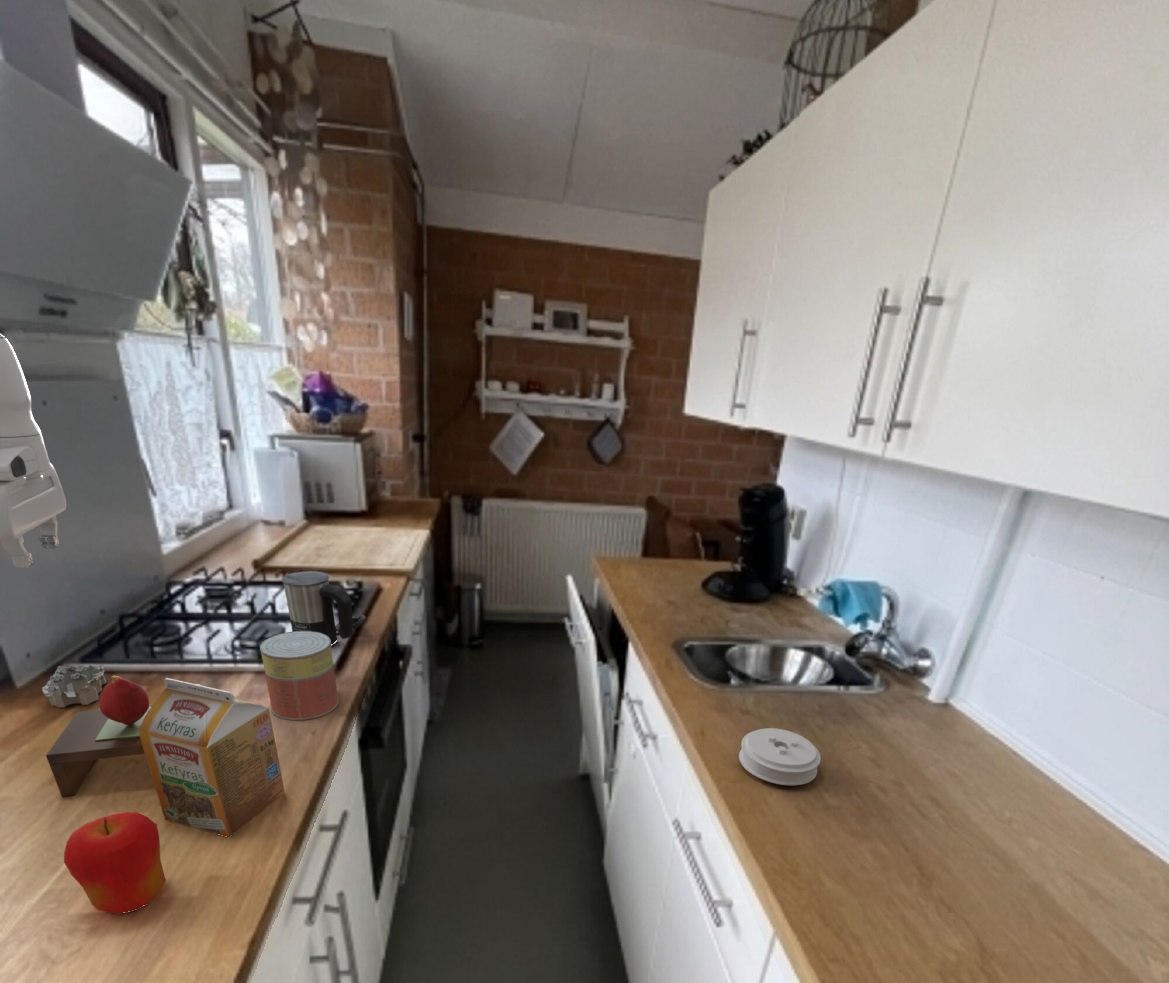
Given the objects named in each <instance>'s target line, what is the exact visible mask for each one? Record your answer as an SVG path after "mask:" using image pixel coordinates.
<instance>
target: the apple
mask: <svg viewBox="0 0 1169 983" xmlns="http://www.w3.org/2000/svg"><path fill="white" fill-rule="evenodd" d="M63 864H64V865H65V867H66V869H67V871H68V873H69V874H70V875H71V877H72V878H73V879H74V880H75V881H77V883H78V884H79V885H80V887H81V888H82V889H83V891H84V893H85V895H86V897H87V898H88V900H89V902H90V904H91V906H93V907H94V908H95V909H96V910H97V911H99V912H104V913H105V912H106V913H111V914H116V913H122V914H124V913H123V912H128V911H132V910H135V909H138V908H140V907H142V906H143V905H146V904H147V905H149V904H150V903H151V902H152V901H153V900H154V899H155V897H156V896H157V895H158V893H159V892H160V891H161V889H162V888H163V886H164V884H165V881H166V876H165V872H164V868H163V863H162V860H161V842H160V832H159V828H158V824H156V823H155V822H154V821H153V820H152V819H151V818H149V817H148V815H145V814H143V813H141V812H134V811H124V812H118V813H111V814H109V815H106V816H103V817H99V818H97V819H94V820H92V821H90V822H87V823H84V824H82V825H81V826H80V827H78V828H77V829H76V830H74V831H73V832H71V834H70V836H69V837H68V839H67V841H66V843H65V848H64V851H63ZM153 898H154V899H153ZM152 899H153V900H152ZM151 900H152V901H151ZM150 901H151V902H150ZM147 905H146V906H147ZM142 908H143V907H142ZM140 909H141V908H140ZM138 910H139V909H138ZM135 911H136V910H135ZM132 912H133V911H132Z"/></svg>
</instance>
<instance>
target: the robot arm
mask: <svg viewBox="0 0 1169 983" xmlns="http://www.w3.org/2000/svg"><path fill="white" fill-rule="evenodd" d="M66 510H67V499H66V495H65V492H64V489H63V486H62V483H61V481H60V478H59V476H58V474H57V471H56V469H55V467H54V465H53V464H52V463H51V461H50V458H49V455H48V450H47V448H46V445H45V441H44V437H43V434H42V430H41V429H40V427H39V425H38V423H37V422H36V420H35V418H34V416H33V412H32V396H31V393H30V390H29V386H28V384H27V380H26V377H25V375H24V371H23V368H22V366H21V364H20V362H19V358H18V357H17V355H16V352H15V350H14V348H13V346H12V345H11V343H10V341H9V340H8V339H7V337H6V336H4V334H2V333H0V545H1V547H2V548H3V549H4V550H5V551H6V553H7V554H8V555H9V556H10V558H11V561H12V564H13V566H14V568H16V569H21V568H22V569H26V568H29V567H31V566H32V565H33V564H34V559H33V555H32V552H30V551H29V552H28V550H27V549H26V547H25V545H24V543H25V540H24V537H23V536H24V535H25V534H27V533H30V532H31V531H32V530H34V529H35V528H37V527H39V532H40V533H39V534H40V536H39V537H38V539H39V542H40V546H41V548H43V549H45V550H54V549H56V548H58V547H59V546H60V540H59V537H58V519H57V518H58V517H57V515H60V514H61V513H63V512H64V511H66Z"/></svg>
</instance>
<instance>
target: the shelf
mask: <svg viewBox="0 0 1169 983" xmlns="http://www.w3.org/2000/svg"><path fill="white" fill-rule="evenodd" d="M196 684H197V685H201V683H196ZM151 707H152V705H149V707H148V710H147V712H146V713H145V714H144V716H143V717H142V718H141V719H139V720H138V721H137V722H135V723H134V724H133V725H125V724H123V723H119V722H116V721H113V720H111V719H109V718H107V717H106V716H105V715H104V714H102V712H101V710H100V709H98V710H97V709H96V710H86V711H85V710H84V711H76V713H75V714H74V715H73V717H72V718H71V720H70V721H69V722H68V724H67V725H66V726H65V727H64V729H63V731H62V732H61V734H60V735H59V736H58V738H56V740H55V742H54V743H53V744H52V746H51V747H50V748H49V750H48V752H46V754H45V757H46V759H47V762H48V765H49V768H50V770H51V773H52V775H53V777H54V780H55V783H56V785H57V788H58V790H59V793H60V796H61V797H62V798H64V797H74V796H75V795H76V794H77V792H78V790H79V788H80V787H81V785H82V784H83V782H84V780H85V778H86V777H87V776H88V773H89V772H90V771H91V768H92V767H93V765H94V763H95V762H96V760H102V759H110V758H111V759H112V758H121V757H128V756H129V757H130V756H139V755H145V752H144V749H143V746H142V742H141V739H140V736H139V733H138V729H139V727H140V725H141V723H142V721H143V719H144V717H145V716H146V714H147V713H148V711H149V710H150V708H151Z"/></svg>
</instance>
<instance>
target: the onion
mask: <svg viewBox="0 0 1169 983" xmlns="http://www.w3.org/2000/svg"><path fill="white" fill-rule="evenodd" d="M109 679H110V681H111V682H109V683H108V684H105V686H104V688H102V692H100V694H99V696H98V697H99V699H98V706H99V710H101V712H102V714H104V715H105V716H106V717H107V718H109V719H111V720H113V721H116V722H119V723H123V724H125V725H133V724H134V723H135V722H137V721H138V720H139V719H141V718H142V717H143V716H144V714H145V713H146V712H147V710H148V707H149V706H150V700H149V695H148V693H147V691H146V690H145V688H143V687H142V686H141V685H140V684H138V683H137V682H134V681H132V680H129V679H126V678H123V677H120V676H118V675H112V676H110V678H109Z"/></svg>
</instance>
